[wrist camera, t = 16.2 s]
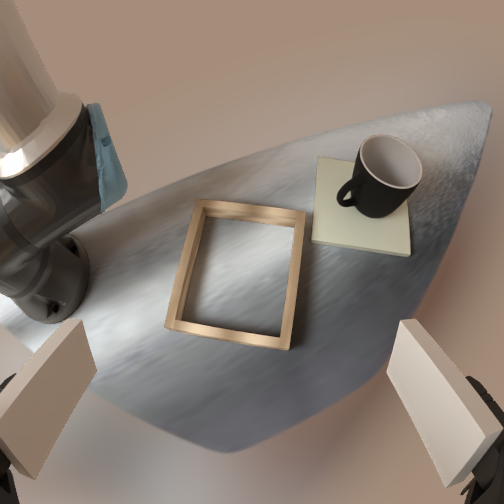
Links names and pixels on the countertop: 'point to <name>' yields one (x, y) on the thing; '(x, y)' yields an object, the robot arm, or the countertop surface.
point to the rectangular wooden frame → (189, 255)
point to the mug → (381, 176)
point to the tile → (354, 216)
